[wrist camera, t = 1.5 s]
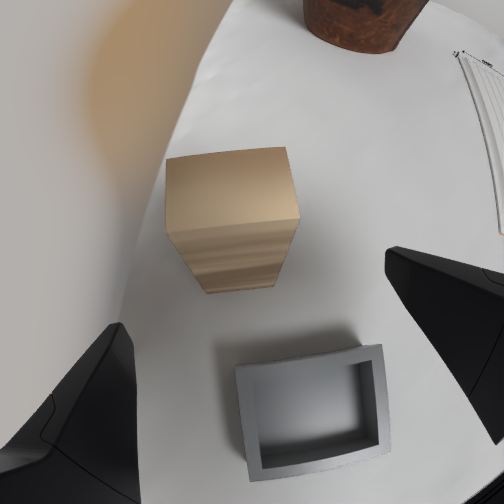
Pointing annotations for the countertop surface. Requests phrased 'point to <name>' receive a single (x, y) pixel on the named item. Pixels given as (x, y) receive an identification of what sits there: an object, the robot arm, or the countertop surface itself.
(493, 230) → the countertop surface
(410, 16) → the brown tapered cylinder
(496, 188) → the baseboard
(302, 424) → the end cap
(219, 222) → the slat
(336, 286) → the countertop surface
